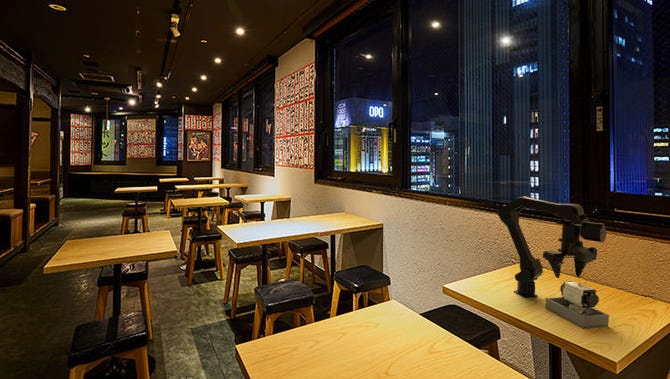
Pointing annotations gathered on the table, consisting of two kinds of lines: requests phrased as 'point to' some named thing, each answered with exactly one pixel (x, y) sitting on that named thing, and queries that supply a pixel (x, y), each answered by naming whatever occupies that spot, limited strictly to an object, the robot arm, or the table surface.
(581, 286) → the pneumatic valve
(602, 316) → the bin
